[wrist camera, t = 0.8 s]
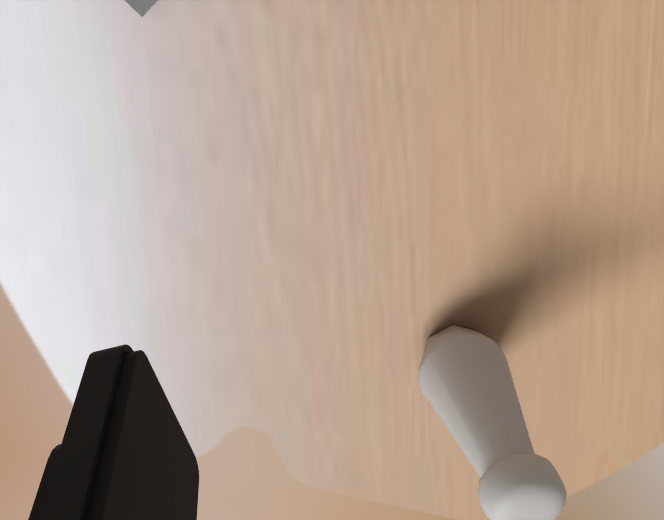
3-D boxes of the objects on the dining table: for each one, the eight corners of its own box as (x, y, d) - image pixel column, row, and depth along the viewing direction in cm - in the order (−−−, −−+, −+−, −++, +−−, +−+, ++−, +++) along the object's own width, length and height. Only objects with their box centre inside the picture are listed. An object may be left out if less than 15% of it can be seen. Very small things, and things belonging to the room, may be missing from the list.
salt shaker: (395, 341, 41) (458, 510, 30) (472, 299, 40) (567, 458, 29) (431, 393, 44) (501, 565, 33) (504, 356, 43) (600, 518, 32)
